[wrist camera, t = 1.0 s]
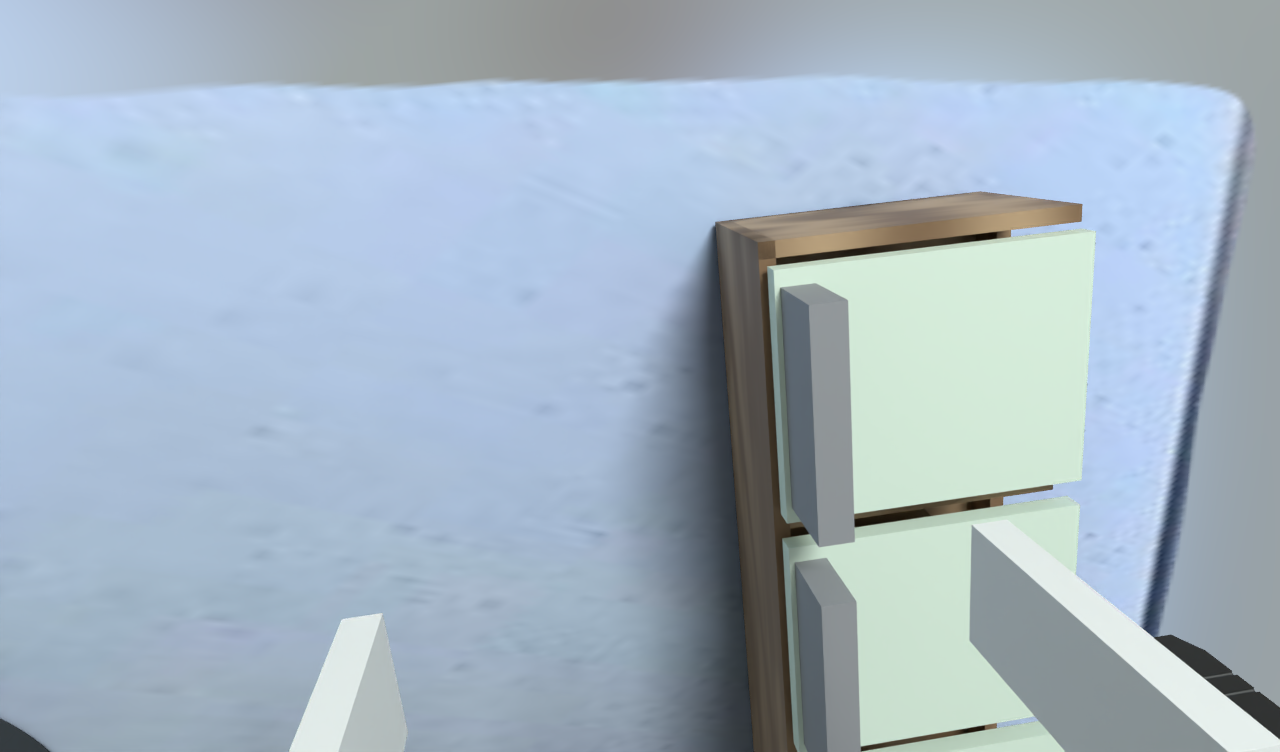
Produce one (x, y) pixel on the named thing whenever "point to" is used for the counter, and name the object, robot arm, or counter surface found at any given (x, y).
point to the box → (753, 403)
